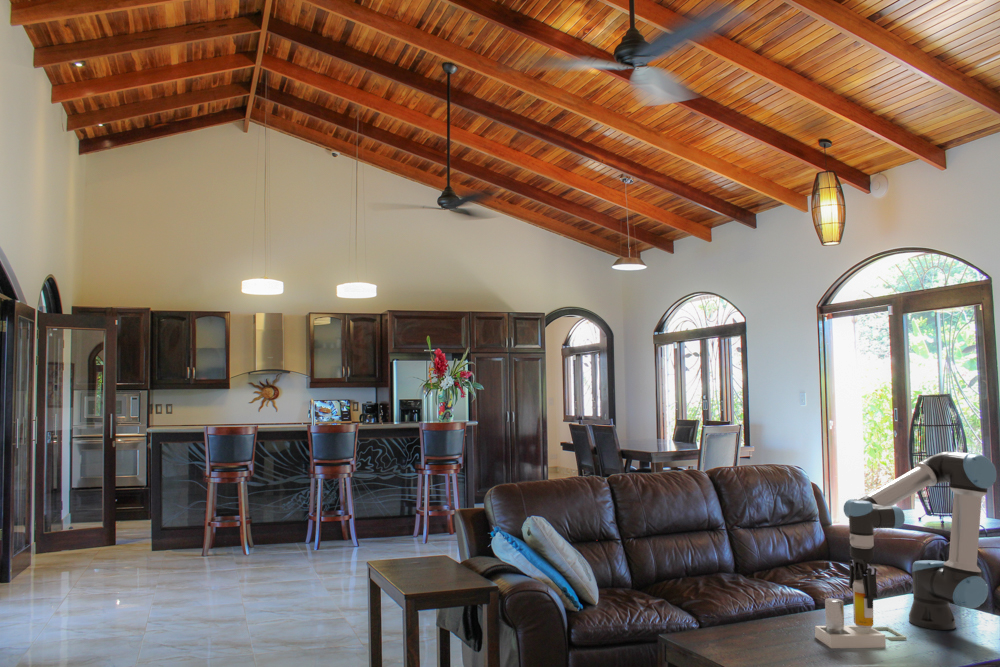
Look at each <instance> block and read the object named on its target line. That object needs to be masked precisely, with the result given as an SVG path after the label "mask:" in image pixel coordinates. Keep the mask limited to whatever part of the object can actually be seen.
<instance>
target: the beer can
mask: <svg viewBox="0 0 1000 667" xmlns="http://www.w3.org/2000/svg"><path fill="white" fill-rule="evenodd" d="M852 585H853V591H852V599H853V601H852V602H853V606H852V607H853V609H852V610H853V623H854V625H856V626H858V627H861V628H871V627H874V617H873V618H865V615H864V597H866V596H865V591H864V585H863V580H854V582H853V584H852Z"/></svg>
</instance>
